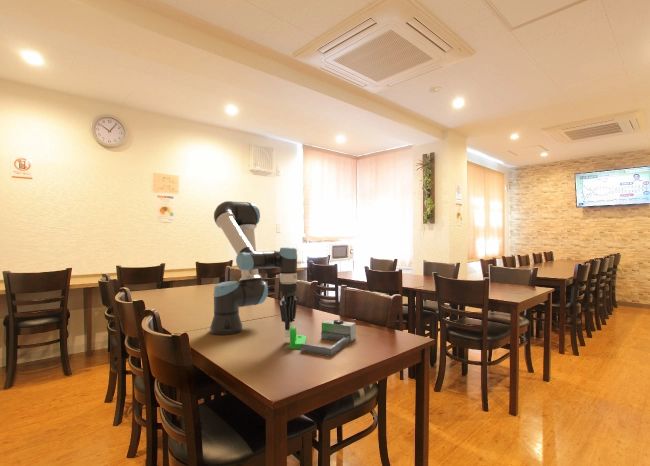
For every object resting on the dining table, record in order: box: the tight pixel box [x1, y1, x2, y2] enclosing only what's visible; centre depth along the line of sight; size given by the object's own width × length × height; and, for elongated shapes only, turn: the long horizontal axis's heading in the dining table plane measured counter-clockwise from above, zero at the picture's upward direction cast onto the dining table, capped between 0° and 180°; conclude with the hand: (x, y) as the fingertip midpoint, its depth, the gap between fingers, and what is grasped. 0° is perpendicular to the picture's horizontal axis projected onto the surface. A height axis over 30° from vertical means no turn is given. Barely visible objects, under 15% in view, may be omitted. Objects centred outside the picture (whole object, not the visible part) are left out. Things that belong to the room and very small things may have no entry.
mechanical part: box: [289, 326, 307, 350], centre depth 146 cm, size 12×6×8 cm, turn 179°
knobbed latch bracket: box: [300, 319, 357, 357], centre depth 144 cm, size 14×25×8 cm, turn 154°
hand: (288, 336), depth 149 cm, fingers closed
